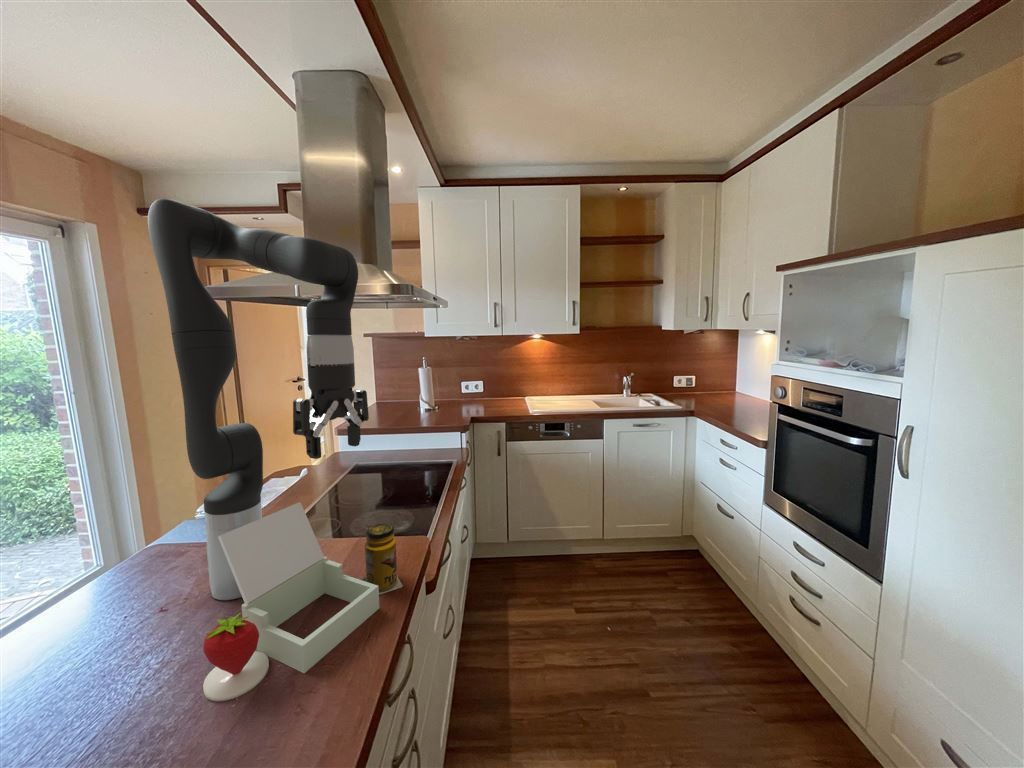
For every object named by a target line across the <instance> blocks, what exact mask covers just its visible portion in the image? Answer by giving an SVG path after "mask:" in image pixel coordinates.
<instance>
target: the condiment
mask: <svg viewBox="0 0 1024 768" xmlns="http://www.w3.org/2000/svg"><path fill="white" fill-rule="evenodd" d="M394 532H395V529H394V526H393V525H391V524H389V523H377V524H373V525H372V526H369V528H368V529H367V530H366V539H365V540H366V542H365V544H364V552H365V553H364V554H365V556H364V557H365V576H364V577H362V578H358V579H359V580H362V581H365V582H368V583H371V584H374V585H377V586H379V595H383V594H386V593H389V592H393V591H395V590H397V589H401V588H403V587H404V585H403V583H402V582H401V580H400V579H399V578H398V573H397V572H398V568H397V566H398V565H397V558H398V557H397V540H396V538H395V533H394Z"/></svg>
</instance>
